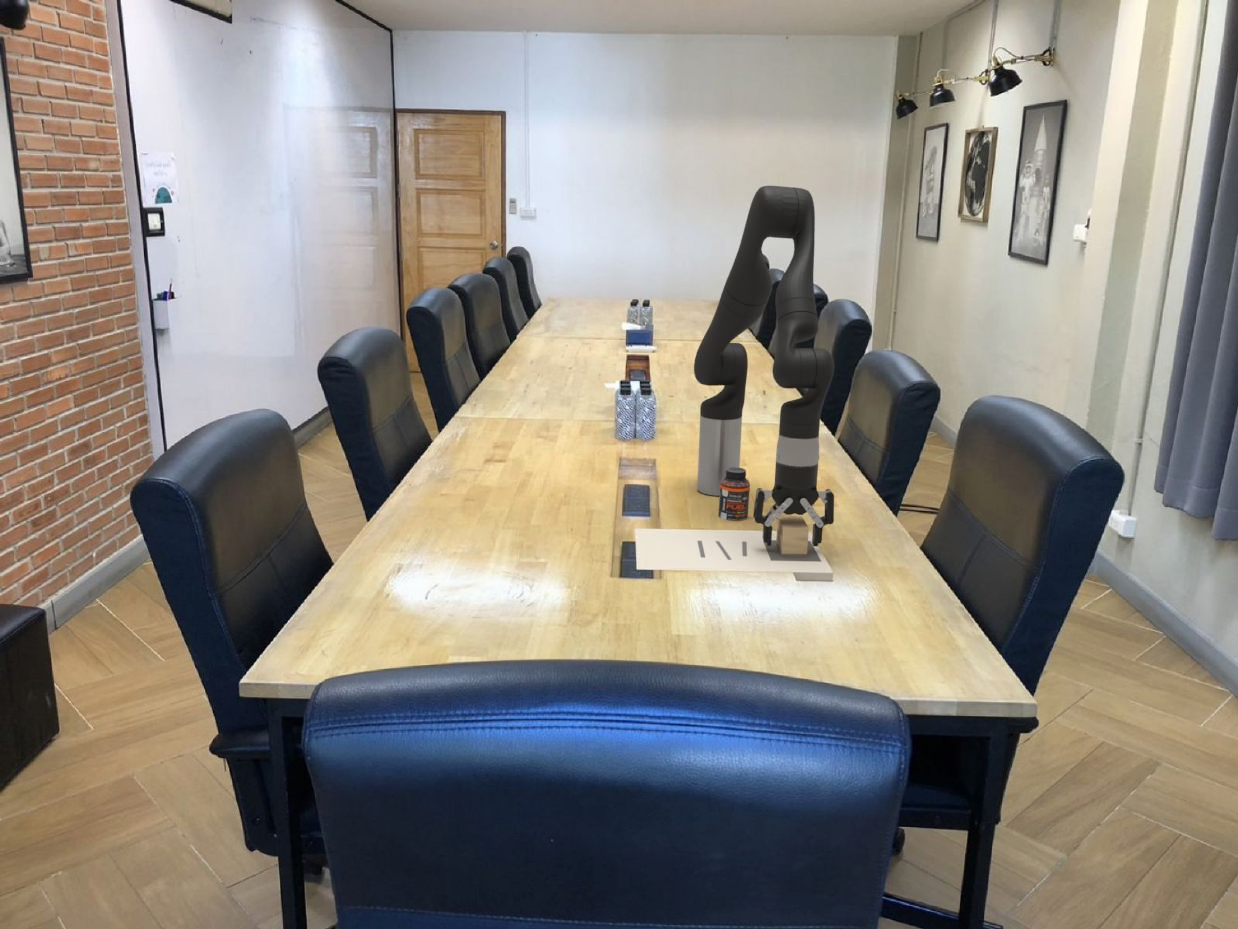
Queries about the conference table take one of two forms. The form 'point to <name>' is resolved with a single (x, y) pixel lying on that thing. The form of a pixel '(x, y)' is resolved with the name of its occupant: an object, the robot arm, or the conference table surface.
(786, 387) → the robot arm
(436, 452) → the conference table surface
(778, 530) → the block
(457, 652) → the conference table surface
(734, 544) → the board
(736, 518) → the supplement bottle
